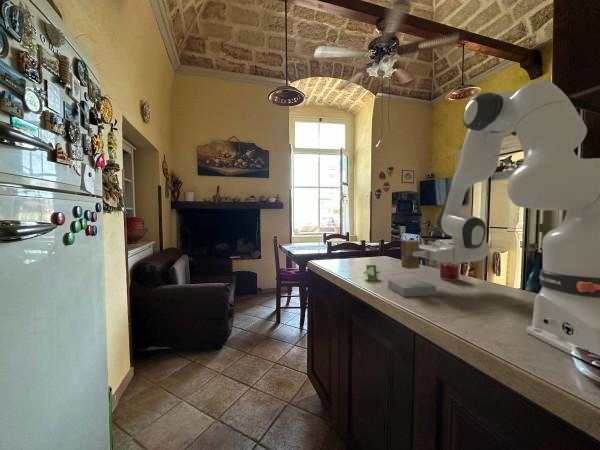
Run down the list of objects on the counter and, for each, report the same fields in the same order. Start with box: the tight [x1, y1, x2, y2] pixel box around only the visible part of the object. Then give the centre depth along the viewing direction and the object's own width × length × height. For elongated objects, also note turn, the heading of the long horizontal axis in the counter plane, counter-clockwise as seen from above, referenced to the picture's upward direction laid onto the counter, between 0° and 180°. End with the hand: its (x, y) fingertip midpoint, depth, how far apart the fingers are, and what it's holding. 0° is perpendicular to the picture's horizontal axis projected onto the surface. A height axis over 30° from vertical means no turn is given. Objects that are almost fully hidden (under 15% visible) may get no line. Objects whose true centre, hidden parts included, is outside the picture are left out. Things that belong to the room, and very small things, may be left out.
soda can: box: [439, 262, 460, 282], centre depth 111 cm, size 7×7×12 cm
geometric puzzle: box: [362, 264, 381, 281], centre depth 114 cm, size 7×7×8 cm
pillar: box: [400, 239, 420, 270], centre depth 95 cm, size 4×4×10 cm
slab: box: [387, 278, 437, 297], centre depth 94 cm, size 12×12×3 cm
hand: (407, 252), depth 94 cm, fingers closed on pillar, 4 cm apart
